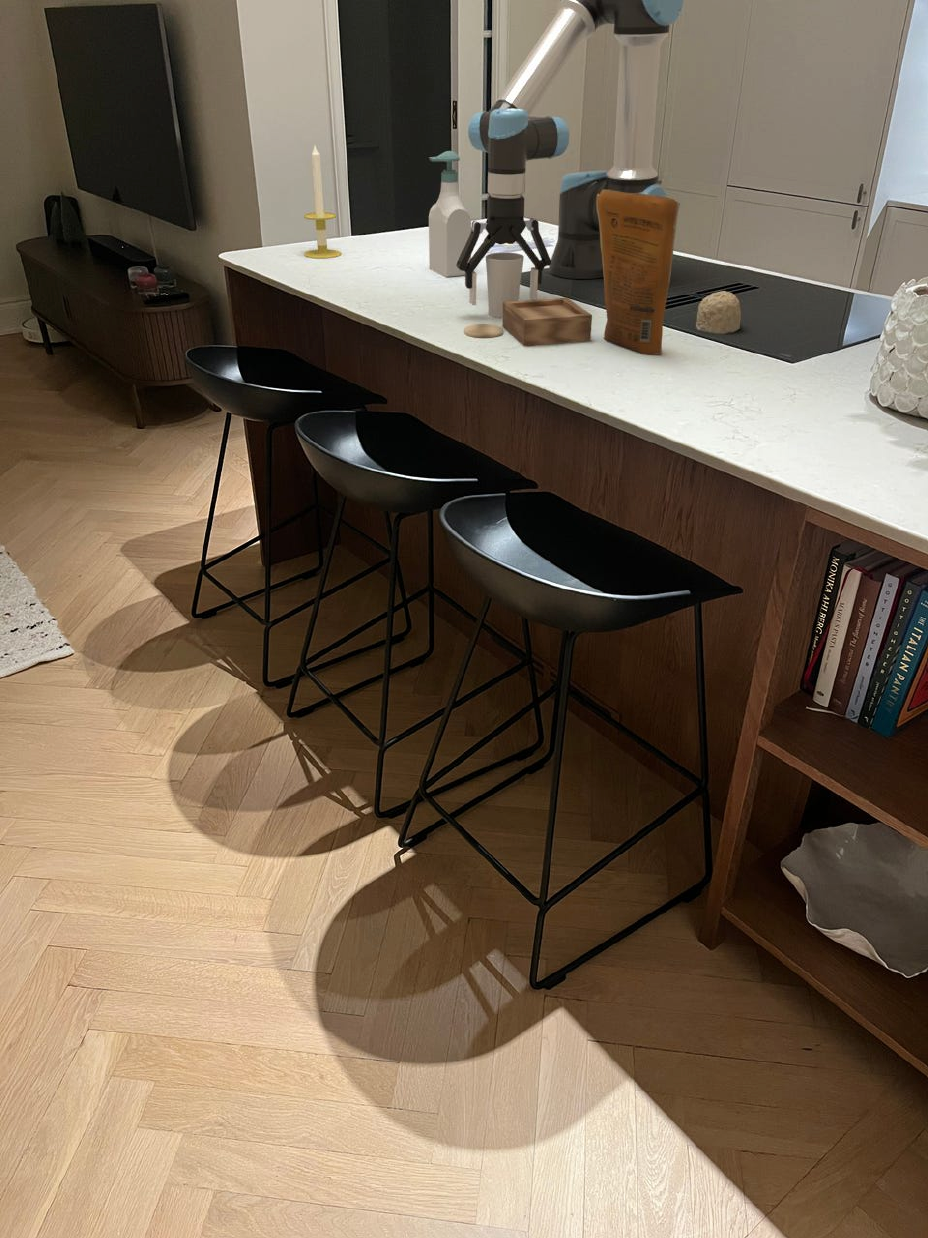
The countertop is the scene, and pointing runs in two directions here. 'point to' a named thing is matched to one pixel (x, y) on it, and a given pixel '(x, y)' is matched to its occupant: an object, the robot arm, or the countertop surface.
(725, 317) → the sponge
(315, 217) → the candle
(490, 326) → the coaster
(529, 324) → the wooden tray
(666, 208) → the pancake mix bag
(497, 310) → the cup
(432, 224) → the soap bottle
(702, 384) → the countertop surface
